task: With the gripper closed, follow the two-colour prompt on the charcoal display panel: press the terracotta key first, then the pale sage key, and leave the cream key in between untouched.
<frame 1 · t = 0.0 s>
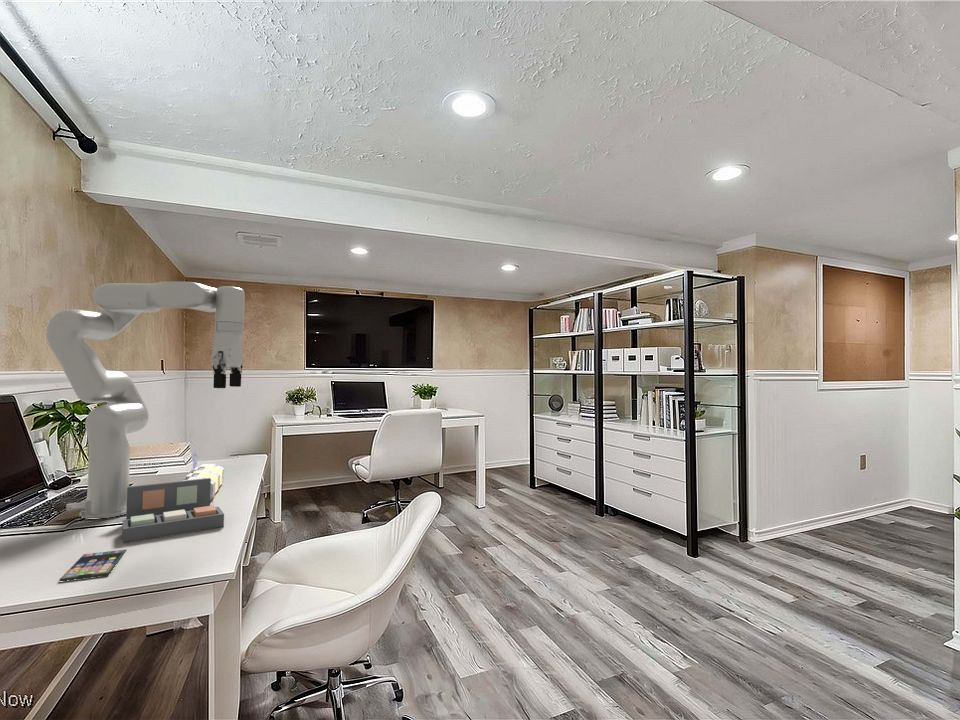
hand: (227, 387, 142), 37 cm above the table, tool pointing down, fingers open, 9 cm apart
keypad: (174, 530, 128), on the table
smartphone: (95, 568, 105), on the table
white yellow ridged block: (201, 495, 163), on the table
key cream: (174, 517, 128), point 3 cm above the table, slide at 0.0 cm
key terracotta: (204, 513, 132), point 3 cm above the table, slide at 0.0 cm
key sage: (142, 522, 123), point 3 cm above the table, slide at 0.0 cm
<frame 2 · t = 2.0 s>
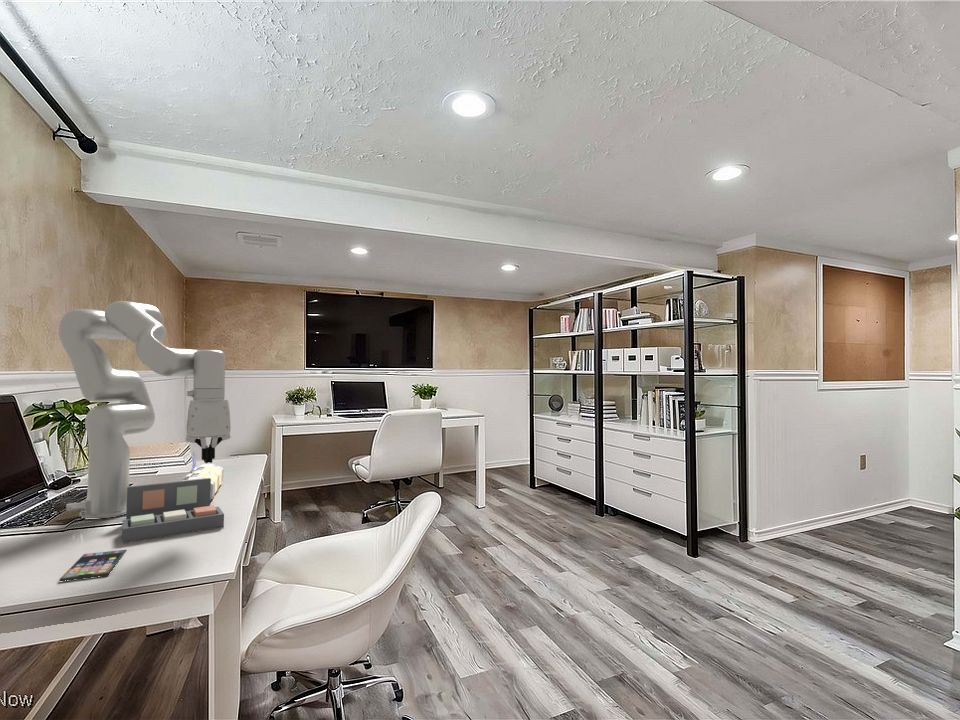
hand: (208, 462, 132), 17 cm above the table, tool pointing down, fingers closed
nothing on the table moved.
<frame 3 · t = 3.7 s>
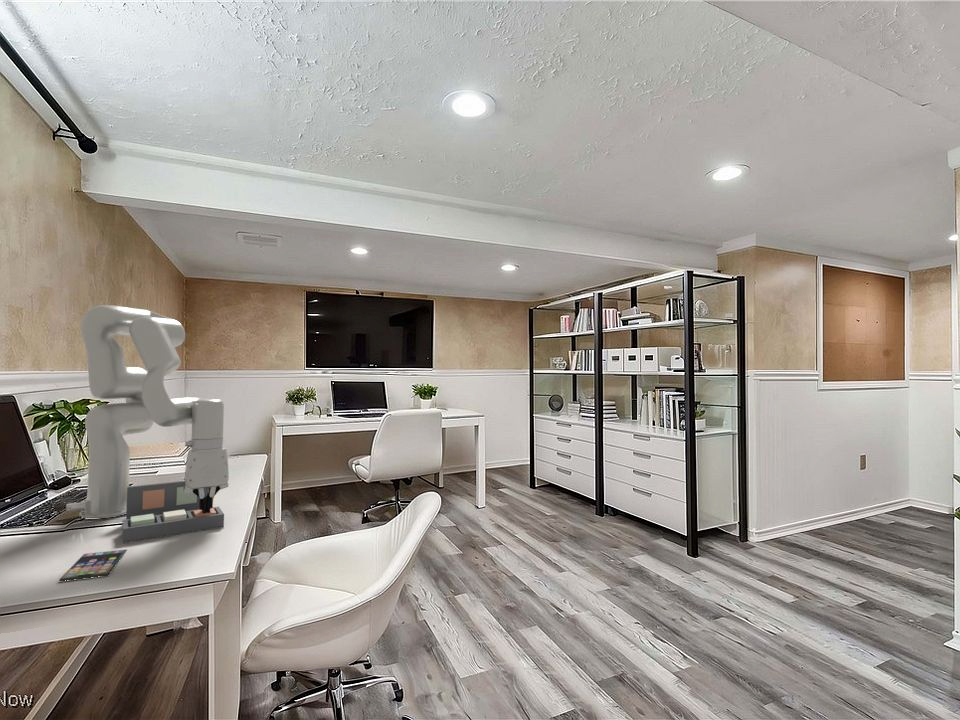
hand: (205, 511, 132), 4 cm above the table, tool pointing down, fingers closed
key terracotta: (204, 516, 132), point 2 cm above the table, slide at 0.8 cm, touching gripper
everything else where it was.
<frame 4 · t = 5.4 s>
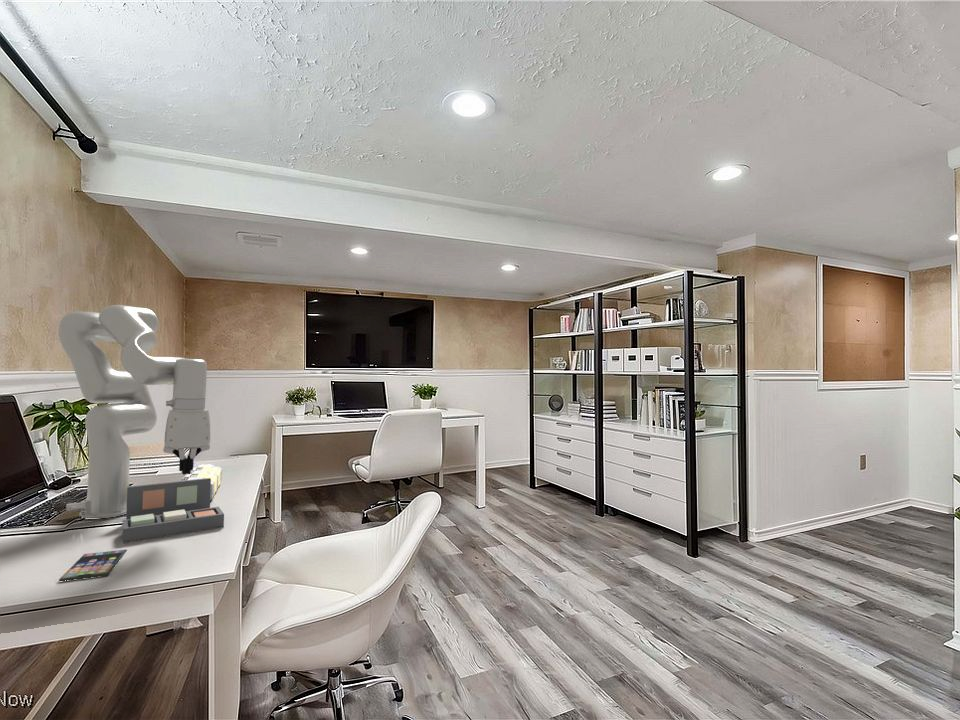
hand: (185, 473, 130), 15 cm above the table, tool pointing down, fingers closed
key terracotta: (204, 518, 132), point 2 cm above the table, slide at 1.3 cm
everything else where it was.
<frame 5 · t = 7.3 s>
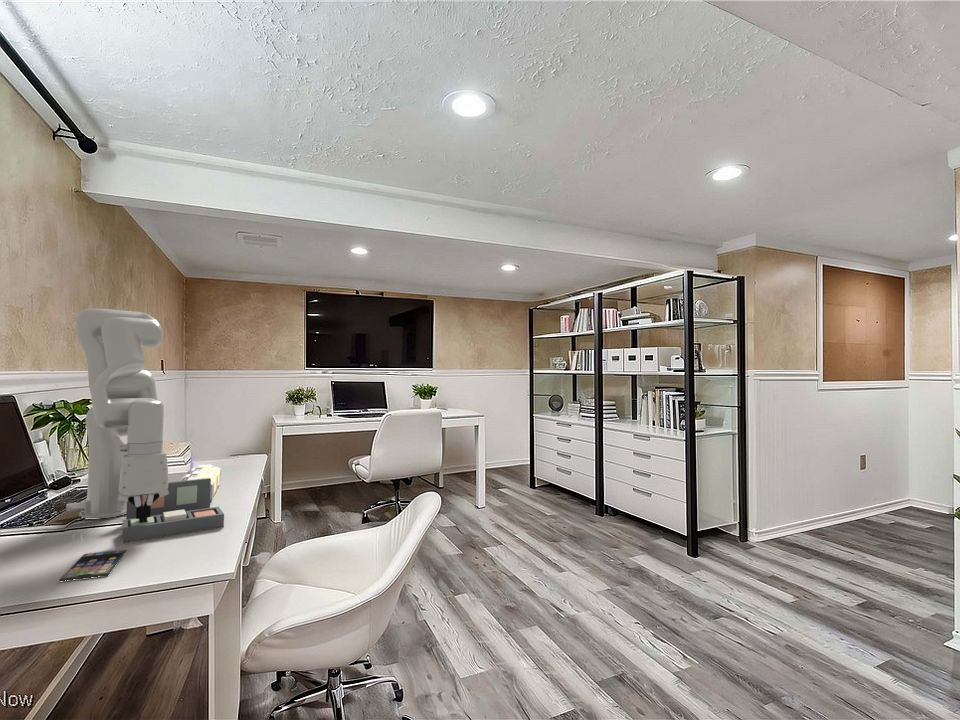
hand: (143, 520, 123), 4 cm above the table, tool pointing down, fingers closed
key sage: (142, 525, 123), point 2 cm above the table, slide at 0.8 cm
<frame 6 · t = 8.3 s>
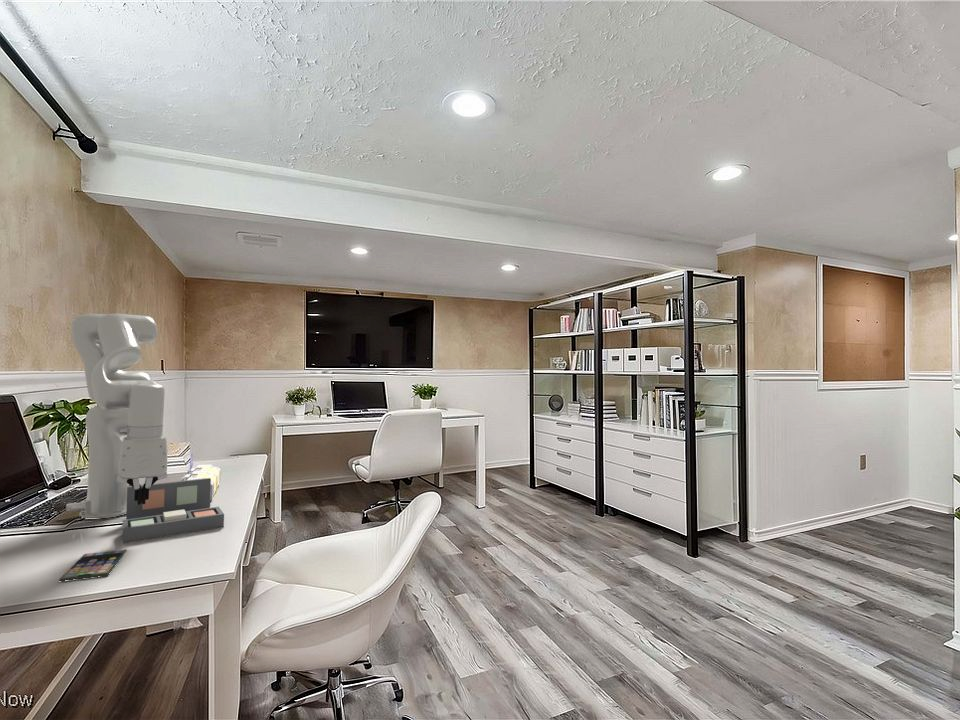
hand: (141, 502, 124), 8 cm above the table, tool pointing down, fingers closed
key sage: (142, 527, 123), point 2 cm above the table, slide at 1.3 cm
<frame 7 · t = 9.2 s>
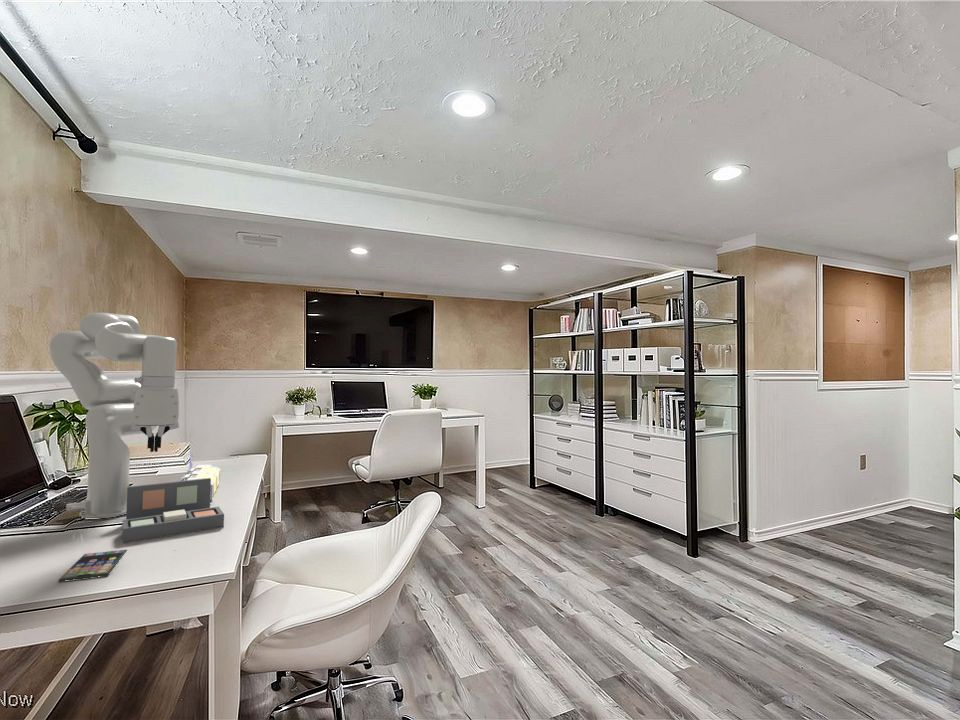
hand: (153, 450, 129), 20 cm above the table, tool pointing down, fingers closed
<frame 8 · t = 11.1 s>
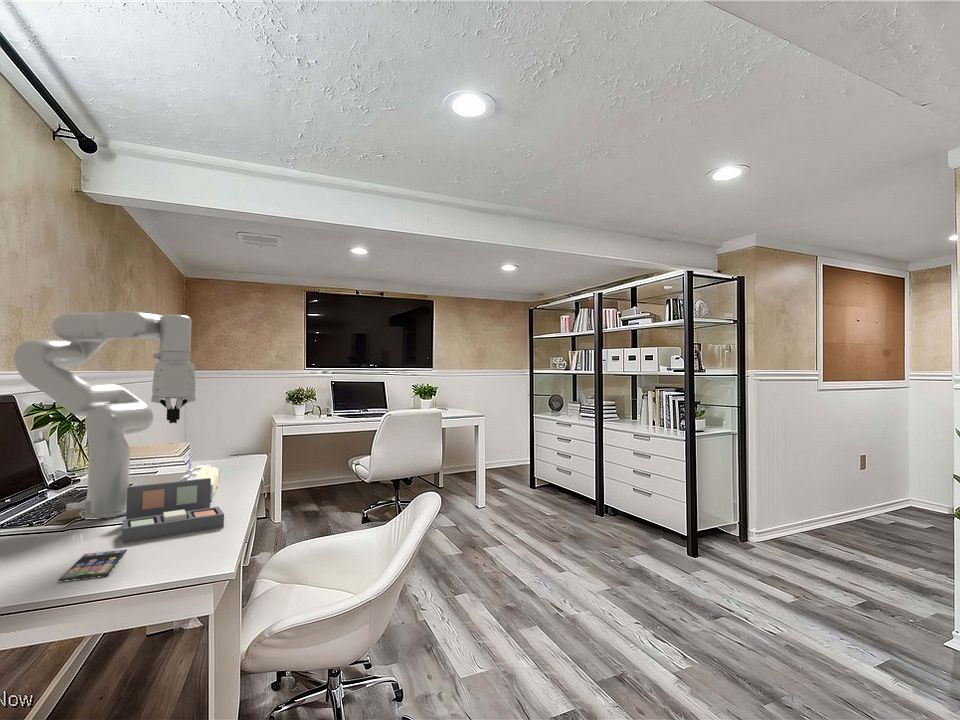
hand: (172, 422, 138), 27 cm above the table, tool pointing down, fingers closed
at the end: key terracotta slide at 1.3 cm; key sage slide at 1.3 cm; key cream slide at 0.0 cm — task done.
